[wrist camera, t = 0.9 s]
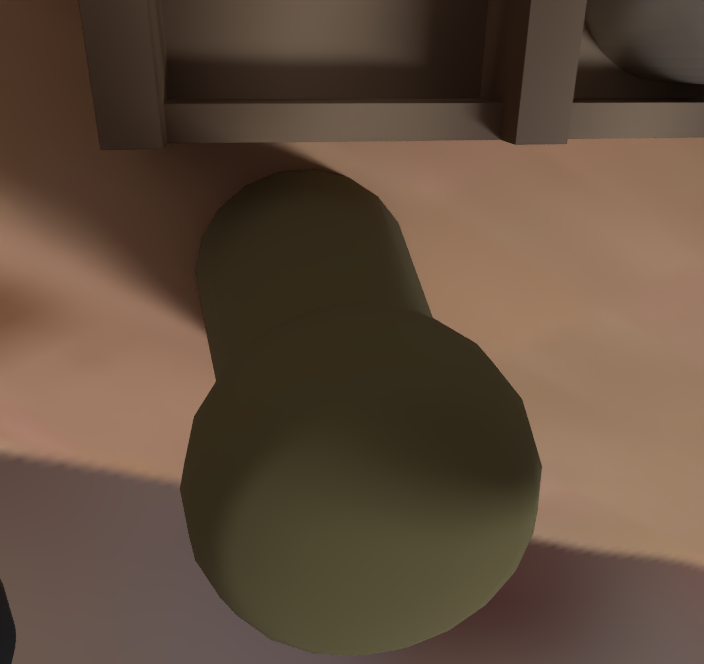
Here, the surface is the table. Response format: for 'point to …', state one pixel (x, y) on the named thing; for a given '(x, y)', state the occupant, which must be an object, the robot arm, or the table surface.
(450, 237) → the table surface
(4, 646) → the robot arm
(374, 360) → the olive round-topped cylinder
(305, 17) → the walnut slot rack
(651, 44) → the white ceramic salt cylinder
